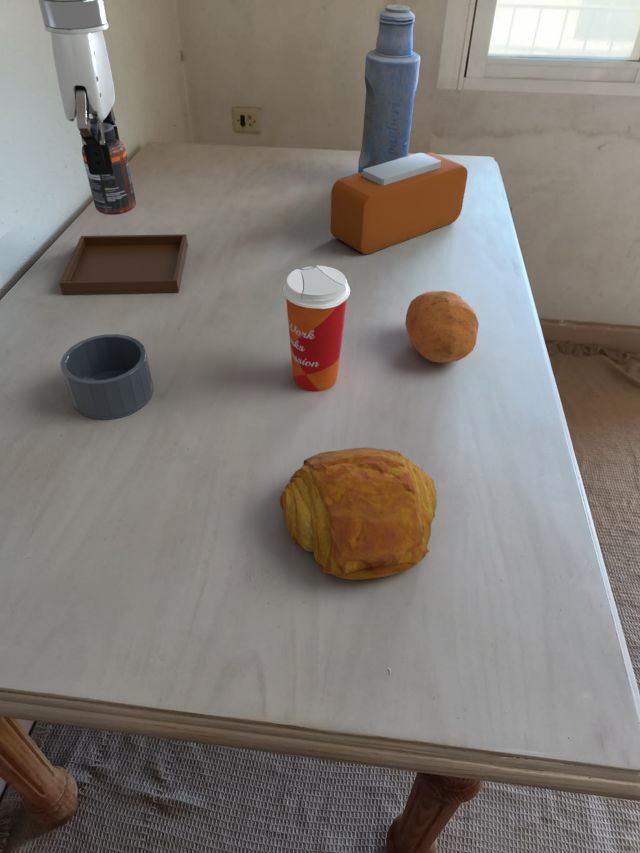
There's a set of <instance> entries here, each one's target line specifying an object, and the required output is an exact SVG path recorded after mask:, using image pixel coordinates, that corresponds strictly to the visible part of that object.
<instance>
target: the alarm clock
mask: <svg viewBox="0 0 640 853" xmlns="http://www.w3.org/2000/svg"><path fill="white" fill-rule="evenodd" d="M468 174H469V173H468V169H467V167H466V166H465V165H464V164H461V163H458V162H456V161H453V160H451V159H449V158H446V157H444V156H441V155H439V154H436V153H434V152H426V153H424V152H417V153H414V154H409V155H408V156H406V157H403V158H400V159H396V160H393V161H389V162H386V163H382V164H379V165H376V166H372V167H369V168H365V169H363V172H361V173H358V172H357V173H354V174H351V175H348V176H344V177H341V178H339V179H337V180H336V181H335V182H334V184H333V185H332V187H331V192H330V219H329V220H330V221H329V222H330V225H329V229H330V233H331V235H332V236H333V237H335V239H338V240H339V241H341V242H342V243H344V244H345V245H348V246H350V247H352V248H353V249H355V250H356V251H358V252H359V253H361V254H363V255H370V254H372V253H376V252H378V251H381V250H383V249H386V248H389V247H391V246H394V245H397V244H400V243H402V242H405V241H408V240H410V239H413V238H415V237H418V236H422V235H424V234H426V233H428V232H432V231H435V230H436V229H437V230H438V229H439V228H442V227H444V226H448V225H451V224H453V223H454V222H456V221H457V220H458V219H459V217H460V216H461V213H462V209H463V204H464V198H465V192H466V186H467V180H468Z"/></svg>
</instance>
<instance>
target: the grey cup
mask: <svg viewBox="0 0 640 853" xmlns="http://www.w3.org/2000/svg"><path fill="white" fill-rule="evenodd" d="M60 368H61V373H62V375H63V376H62V377H63V379H64V382H65V384H66V388H67V390H68V393H69V397H70V399H71V402H72V404H73V407H74V408H75V410H76V411H77V412H78V413H79V414H81V415H82V416H84V417H87V418H90V419H93V420H103V421H104V420H105V421H106V420H115V419H121V418H124V417H128V416H130V415H132V414H135V413H137V412H138V411H139V410H141V409H142V408H143V407H145V406H146V405H147V404H148V403H149V401H150V400H151V399H152V396H153V394H154V383H153V378H152V372H151V369H150V364H149V359H148V355H147V351H146V348H145V345H143V343H141V342H140V340H139V339H136V338H134V337H133V336H129V335H125V334H119V333H107V334H105V333H104V334H99V335H95V336H91V337H88V338H86V339H82V340H81V341H78V342H77V343H75V344H74V345H72V346H71V347H69V349H67V351H66V352H65V353H64V354H63V356H62V358H61V361H60Z"/></svg>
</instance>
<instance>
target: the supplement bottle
mask: <svg viewBox="0 0 640 853" xmlns="http://www.w3.org/2000/svg"><path fill="white" fill-rule="evenodd" d="M91 127H94V128H95V129H96V130H97V133H98V129H97V124H91ZM103 128H104V136H105V143H108V145H109V150H110V155H111V159H112V164H113V169H114V172H113V174H112V175H91V174H90V173H89V169H88V164H87V160H86V156H85V152H84V147H83V146H82V147H81V156H82V159H83V164H84V168H85V171H86V176H87V179H88V184H89V189H90V192H91V196H92V200H93V204H94V207H95V210H96V211H98V212H99V213H100V214H104V215H109V216H112V215H113V216H115V215H122V214H126V213H128V212H130V211H132V210H133V209H134V208H135V207H136V206H137V200H136V194H135V189H134V185H133V184H134V183H133V179H132V174H131V169H130V165H129V160H128V155H127V150H126V146H125V144H124V143H123V142H122V141H121V140H120V141H119V140H117V139H116V138H115V136H116V134H115V131H114V127H113V126H112V125H111V124H107V123H103Z"/></svg>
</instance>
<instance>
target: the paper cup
mask: <svg viewBox="0 0 640 853" xmlns="http://www.w3.org/2000/svg"><path fill="white" fill-rule="evenodd" d="M282 294H283V296H284V298H285V300H286V302H285V303H286V312H287V313H286V314H287V324H288V325H287V326H288V336H289V347H290V357H291V369H292V377H293V381H294V383H295V385H297V386H298V387H299V388H301V389H303V390H306V391H310V392H321V391H325V390H328V389H330V388H332V387H333V386H334V385H335V384H336V382H337V380H338V374H339V368H340V359H341V352H342V351H341V350H342V342H343V335H344V326H345V317H346V310H347V309H346V308H347V300H348V298H349V297H350V294H351V287H350V285H349V284H348V280H347V278H346V276H345V274H344V273H343V272H341V271H340V270H338V269H336V268H334V267H330V266H326V265H318V264H317V265H315V266H314V267H313V266H312V265H311V266H305V267H302V269H299V268H296V269H294V270H293V271H291V272H290V273H289V274H288V275H287V277H286V281H285V283H284V284H283V287H282Z"/></svg>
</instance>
